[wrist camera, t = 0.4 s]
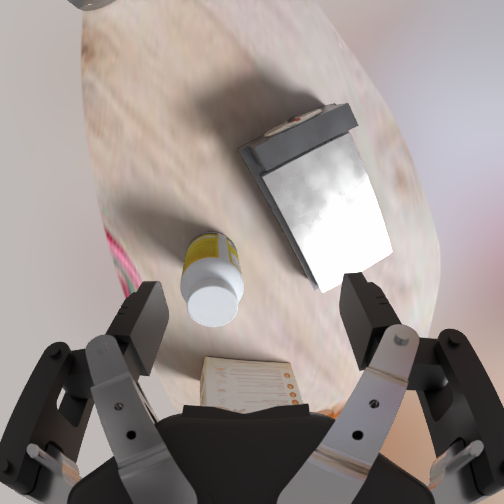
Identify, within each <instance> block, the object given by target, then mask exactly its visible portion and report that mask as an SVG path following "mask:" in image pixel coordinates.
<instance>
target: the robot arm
mask: <svg viewBox="0 0 504 504" xmlns="http://www.w3.org/2000/svg"><path fill="white" fill-rule="evenodd" d="M68 1H69V2H70V3H72V4H73V5H74V6H76V7H77V8H79V9H81V10H95V9H99V8H102V7H104V6H106V5H108V4H110V3H112V2H114V1H115V0H68ZM339 309H340V315H341V318H342V321H343V323H344V326H345V329H346V332H347V335H348V338H349V341H350V344H351V346H352V349H353V352H354V355H355V358H356V361H357V364H358V368H359V371H361V370H365V371H364V372H363V374H362V376H361V378H360V380H359V382H358V384H357V385H356V387H355V389H354V391H353V392H352V394H351V396H350V398H349V399H348V401H347V403H346V404H345V406H344V408H343V409H342V411H341V413H340V414H339V416H338V418H337V419H336V420H335V419H333V418H331V417H329V416H326V415H323V414H319V413H315V412H309V405H308V404H298V405H284V406H275V407H271V408H268V409H264V410H260V411H256V412H251V413H246V414H243V413H238V412H233V411H229V410H225V409H221V408H217V407H210V406H191V405H184V407H183V412H182V413H181V414H176V415H172V416H169V417H167V418H164V419H162V420H161V421H159V420H158V418H157V416H156V415H155V413H154V411H153V410H152V407H151V406H150V404H149V402H148V400H147V398H146V396H145V394H144V392H143V390H142V388H141V386H140V384H139V382H138V379H139V376H140V375H143V376H149V375H150V373H151V370H152V367H153V364H154V361H155V358H156V355H157V352H158V349H159V346H160V343H161V340H162V338H163V335H164V332H165V329H166V326H167V324H168V320H169V310H168V306H167V303H166V299H165V296H164V292H163V289H162V285H161V283H160V282H159V281H144V282H142V284H141V285H140V287H139V289H138V291H137V292H133V293H132V294H131V295H130V296H129V297H127V298H126V299H125V301H124V303H123V304H122V306H121V308H120V309H119V311H118V313H117V315H116V316H115V318H114V320H113V321H112V323H111V325H110V327H109V329H108V330H107V332H106V334H105V335H100V336H97V337H95V338H94V339H92V340H91V341H90V342H89V343H88V345H87V346H86V349H80V350H74V351H71V350H70V348H69V346H68V345H67V344H66V343H64V342H56V343H53V344H51V345H50V346H48V347H47V348H46V350H45V351H44V353H43V354H42V356H41V358H40V360H39V361H38V363H37V365H36V367H35V369H34V370H33V372H32V374H31V376H30V378H29V380H28V382H27V384H26V386H25V388H24V390H23V392H22V394H21V396H20V398H19V400H18V402H17V404H16V406H15V408H14V410H13V413H12V415H11V417H10V420H9V422H8V424H7V427H6V429H5V432H4V434H3V436H2V439H1V442H0V482H2V483H3V484H5V485H6V486H8V487H10V488H11V489H13V490H15V491H16V492H17V493H19V494H20V495H22V496H24V497H26V498H28V499H29V500H31V501H34V502H35V503H37V504H476V503H478V502H480V501H482V500H484V499H486V498H488V497H490V496H492V495H493V494H495V493H497V492H499V491H501V490H502V489H504V408H503V405H502V403H501V401H500V399H499V397H498V395H497V392H496V390H495V388H494V386H493V384H492V382H491V380H490V378H489V377H488V375H487V373H486V371H485V369H484V367H483V365H482V363H481V361H480V360H479V358H478V356H477V354H476V353H475V351H474V349H473V347H472V346H471V344H470V342H469V341H468V339H467V338H466V336H465V335H464V334H463V333H461V332H460V331H458V330H455V329H445V330H443V331H442V332H441V333H440V334H439V336H438V338H437V339H431V338H420V337H419V336H418V334H417V332H416V331H415V330H414V329H412V328H411V327H409V326H406V325H402V324H401V322H400V320H399V318H398V317H397V315H396V313H395V311H394V310H393V308H392V306H391V305H390V304H389V301H388V299H387V298H386V297H385V294H384V293H383V291H382V290H381V288H380V287H378V286H377V285H376V284H374V283H373V282H367V281H366V279H365V277H364V276H363V274H362V272H351V273H344V275H343V279H342V287H341V295H340V302H339ZM62 387H63V389H64V390H65V391H66V392H65V395H64V397H63V400H62V402H61V404H60V407H59V409H57V399H58V396H59V394H60V392H61V390H62ZM406 390H416V392H417V394H418V397H419V400H420V403H421V406H422V409H423V412H424V416H425V419H426V422H427V425H428V429H429V432H430V435H431V439H432V442H433V446H434V450H435V454H436V458H437V459H436V460H435V461H434V462H433V464H432V466H431V469H430V483H429V486H428V487H427V486H426V485H425V484H424V483H422V482H421V481H419V480H418V479H416V478H415V477H413V476H412V475H410V474H409V473H408V472H406V471H405V470H403V469H402V468H400V467H399V466H397V465H396V464H395V463H393V462H392V461H390V460H389V459H388V458H386V457H385V456H384V455H382V454H381V453H380V452H379V451H380V449H381V447H382V445H383V443H384V441H385V439H386V437H387V435H388V433H389V430H390V428H391V426H392V424H393V421H394V419H395V417H396V414H397V412H398V409H399V407H400V405H401V402H402V399H403V397H404V394H405V391H406ZM94 403H95V405H96V409H97V412H98V415H99V418H100V421H101V424H102V427H103V429H104V432H105V434H106V437H107V440H108V442H109V445H110V447H111V450H112V452H113V455H114V456H113V457H112V458H110V459H109V460H108V461H106V462H105V463H104V464H102V465H101V466H100V467H98V468H97V469H96V470H94V471H93V472H91V473H90V474H88V475H87V476H85V477H84V478H83V479H82V478H81V477H80V476H79V469H78V467H77V465H76V461H77V458H78V454H79V450H80V447H81V443H82V440H83V437H84V433H85V430H86V427H87V424H88V421H89V417H90V414H91V411H92V408H93V405H94Z"/></svg>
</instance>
